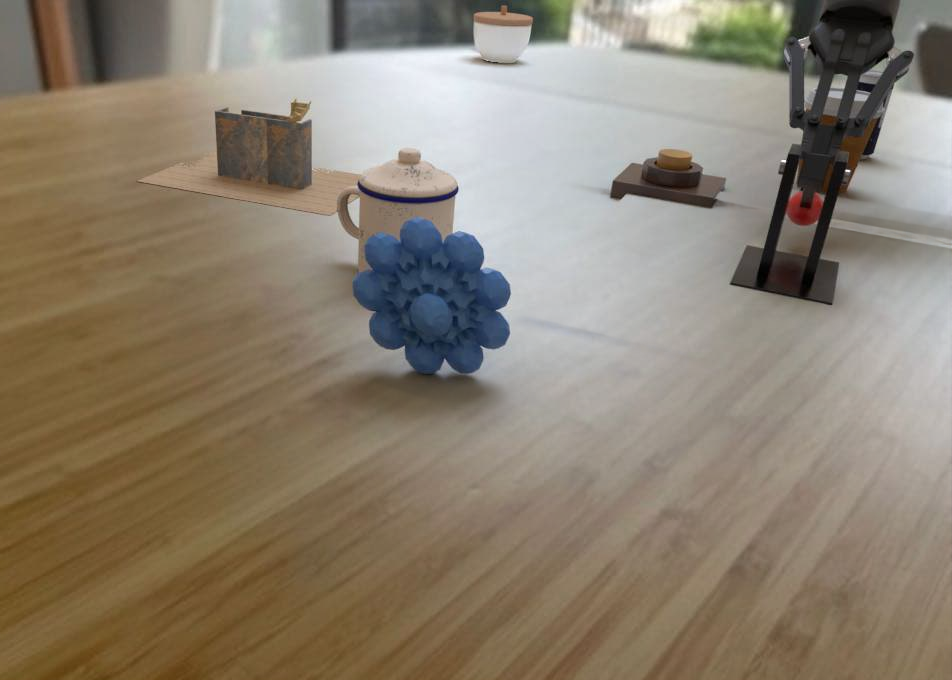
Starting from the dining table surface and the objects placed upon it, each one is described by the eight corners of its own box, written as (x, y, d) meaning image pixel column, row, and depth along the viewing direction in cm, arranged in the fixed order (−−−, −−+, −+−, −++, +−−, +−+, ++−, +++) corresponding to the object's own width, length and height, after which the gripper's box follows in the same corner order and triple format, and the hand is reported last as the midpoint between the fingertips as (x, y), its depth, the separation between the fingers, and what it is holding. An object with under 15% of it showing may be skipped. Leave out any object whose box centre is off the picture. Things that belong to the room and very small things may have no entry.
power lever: (781, 226, 96) (790, 194, 96) (817, 233, 94) (826, 200, 94) (789, 182, 82) (799, 144, 82) (831, 189, 81) (841, 150, 81)
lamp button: (692, 166, 112) (695, 152, 111) (686, 173, 108) (689, 159, 107) (659, 161, 113) (662, 147, 112) (653, 168, 110) (655, 153, 109)
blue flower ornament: (342, 394, 65) (345, 233, 59) (354, 352, 70) (358, 202, 65) (505, 407, 64) (524, 247, 58) (504, 364, 70) (521, 214, 64)
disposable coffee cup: (784, 191, 117) (808, 96, 111) (782, 173, 125) (805, 83, 119) (862, 202, 115) (892, 105, 109) (856, 183, 123) (883, 91, 117)
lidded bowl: (499, 54, 204) (504, 1, 199) (540, 63, 196) (546, 8, 191) (458, 57, 197) (462, 3, 192) (499, 67, 189) (504, 10, 183)
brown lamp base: (722, 195, 114) (729, 163, 112) (709, 216, 106) (717, 182, 104) (628, 179, 118) (634, 148, 117) (609, 198, 110) (615, 165, 109)
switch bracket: (744, 255, 95) (774, 132, 89) (835, 273, 92) (873, 146, 85) (727, 294, 85) (759, 158, 79) (828, 315, 82) (871, 175, 76)
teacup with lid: (468, 270, 87) (479, 148, 81) (421, 300, 80) (429, 170, 74) (363, 243, 92) (366, 127, 86) (310, 269, 85) (310, 145, 79)
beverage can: (843, 149, 140) (866, 68, 134) (878, 157, 136) (904, 74, 131) (824, 153, 137) (847, 70, 131) (860, 162, 133) (885, 77, 127)
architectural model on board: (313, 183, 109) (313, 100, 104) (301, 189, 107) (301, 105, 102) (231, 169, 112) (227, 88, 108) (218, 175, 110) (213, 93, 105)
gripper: (920, 28, 99) (870, 215, 94) (795, 15, 104) (741, 193, 99) (938, -22, 92) (885, 177, 87) (804, -34, 97) (746, 155, 92)
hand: (809, 185), depth 93 cm, fingers closed
